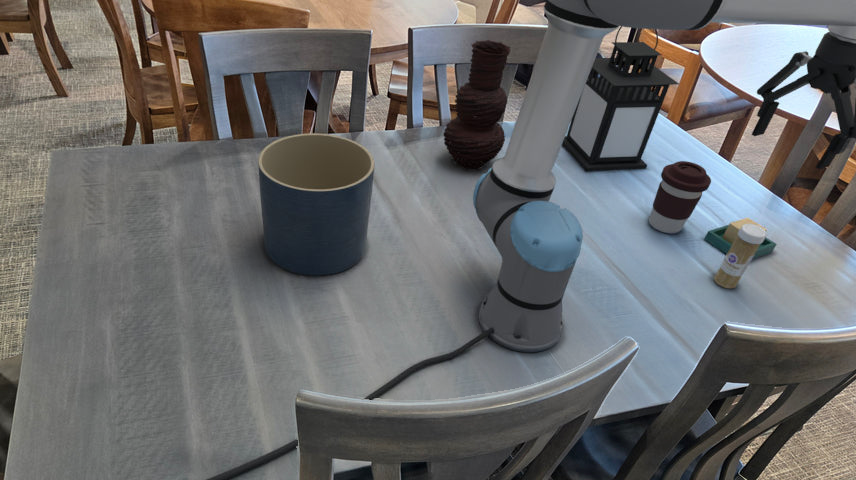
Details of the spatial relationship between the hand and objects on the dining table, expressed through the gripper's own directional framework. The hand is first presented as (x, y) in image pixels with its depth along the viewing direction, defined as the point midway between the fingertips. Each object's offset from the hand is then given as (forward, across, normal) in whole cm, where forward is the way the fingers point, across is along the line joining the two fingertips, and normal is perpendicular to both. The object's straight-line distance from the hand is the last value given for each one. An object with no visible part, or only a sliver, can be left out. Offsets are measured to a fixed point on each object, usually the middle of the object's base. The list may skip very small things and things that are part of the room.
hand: (788, 150), depth 119 cm
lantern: (+27, +48, -8) cm, 55 cm away
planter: (+27, +39, +81) cm, 93 cm away
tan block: (+26, +3, -7) cm, 27 cm away
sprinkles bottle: (+27, -5, +7) cm, 28 cm away
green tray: (+27, +3, -7) cm, 28 cm away
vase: (+27, +57, +29) cm, 69 cm away
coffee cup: (+27, +15, +3) cm, 31 cm away
